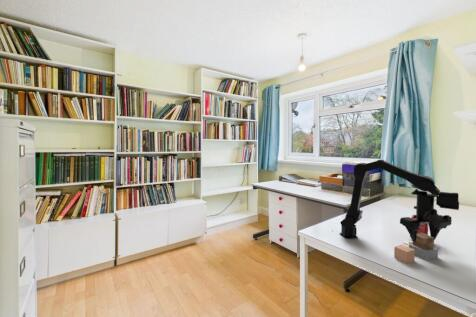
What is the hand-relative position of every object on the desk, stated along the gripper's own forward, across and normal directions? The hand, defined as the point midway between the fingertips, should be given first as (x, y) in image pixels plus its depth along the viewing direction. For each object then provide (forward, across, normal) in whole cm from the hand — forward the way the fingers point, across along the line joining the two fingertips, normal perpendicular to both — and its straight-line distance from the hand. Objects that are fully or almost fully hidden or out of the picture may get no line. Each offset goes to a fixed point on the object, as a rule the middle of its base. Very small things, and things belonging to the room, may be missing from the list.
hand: (423, 240), depth 95 cm
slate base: (+7, 0, 0) cm, 7 cm away
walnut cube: (+3, 0, 0) cm, 3 cm away
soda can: (+6, +11, +13) cm, 18 cm away
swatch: (+6, +5, +8) cm, 11 cm away
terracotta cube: (+7, -11, -2) cm, 13 cm away
